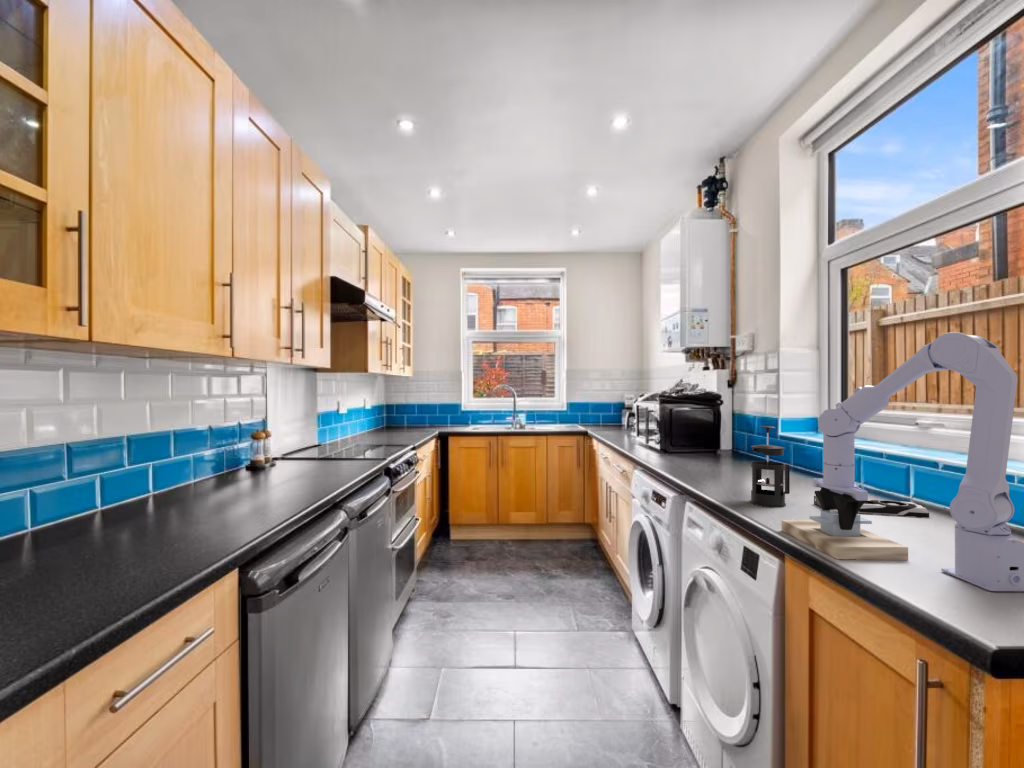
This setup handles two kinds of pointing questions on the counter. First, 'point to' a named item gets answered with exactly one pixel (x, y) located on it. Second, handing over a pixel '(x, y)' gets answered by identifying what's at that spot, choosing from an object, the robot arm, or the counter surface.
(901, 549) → the board
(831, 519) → the block
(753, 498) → the french press
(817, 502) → the graphics card
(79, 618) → the counter surface
